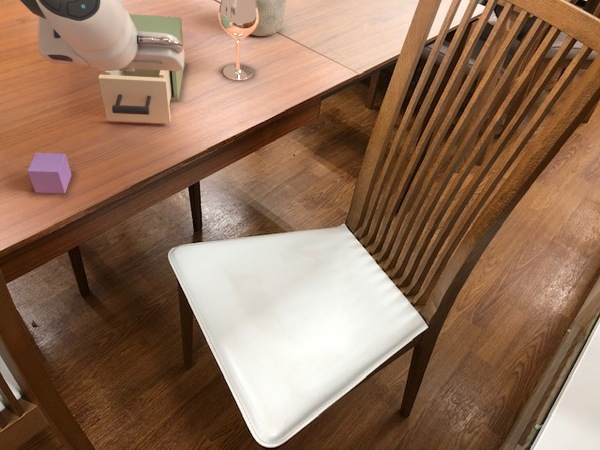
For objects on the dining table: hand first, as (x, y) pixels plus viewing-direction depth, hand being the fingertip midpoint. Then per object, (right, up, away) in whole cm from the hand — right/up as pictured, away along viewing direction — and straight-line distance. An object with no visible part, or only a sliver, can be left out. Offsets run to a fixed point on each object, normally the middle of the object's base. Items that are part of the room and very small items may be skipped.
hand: (125, 66), depth 84 cm
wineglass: (+15, +7, +28) cm, 32 cm away
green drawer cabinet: (-2, +4, +22) cm, 23 cm away
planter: (+19, +23, +44) cm, 53 cm away
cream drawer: (-1, -4, +13) cm, 14 cm away
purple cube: (-11, -20, -2) cm, 23 cm away
